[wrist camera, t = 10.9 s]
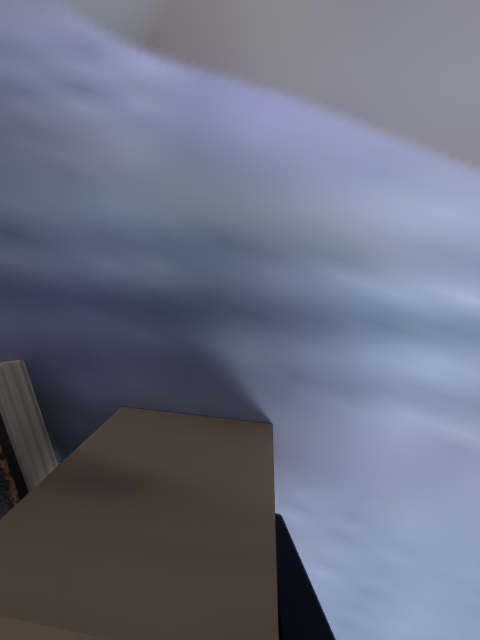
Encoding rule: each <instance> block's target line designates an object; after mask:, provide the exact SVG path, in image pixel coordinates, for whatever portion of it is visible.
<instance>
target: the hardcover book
mask: <svg viewBox="0 0 480 640" xmlns="http://www.w3.org/2000/svg"><path fill="white" fill-rule="evenodd" d="M57 466H58V463H57V460H56V457H55V454H54V451H53V448H52V445H51V442H50V439H49V436H48V433H47V430H46V427H45V424H44V420H43V417H42V414H41V411H40V408H39V405H38V402H37V399H36V396H35V393H34V390H33V387H32V384H31V381H30V377H29V374H28V371H27V368H26V365H25V362H24V360H14V361H6V362H0V519H1V518H2V517H3V516H5V515H6V514H7V513H8V512H9V511H10V510H11V509H12V508H13V507H14V506H15V505H16V504H17V503H18V502H20V501H21V500H22V499H23V498H24V497H25V496H26V495H27V494H28V493H29V492H30V491H31V490H32V489H33V488H35V487H36V486H37V485H38V484H39V483H40V482H41V481H42V480H43V479H44V478H45V477H46V476H47V475H48V474H50V473H51V472H52V471H53V470H54V469H55V468H56V467H57Z"/></svg>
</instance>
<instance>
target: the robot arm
mask: <svg viewBox="0 0 480 640" xmlns="http://www.w3.org/2000/svg"><path fill="white" fill-rule="evenodd" d="M275 531H276V566H277V602H278V637H279V640H336V639H335V637H334V635H333V632H332V630H331V628H330V625H329V623H328V621H327V619H326V616H325V614H324V612H323V609H322V607H321V605H320V603H319V600H318V598H317V596H316V593H315V591H314V589H313V586H312V584H311V582H310V580H309V577H308V575H307V573H306V570H305V568H304V566H303V564H302V561H301V559H300V557H299V554H298V552H297V550H296V547H295V545H294V543H293V541H292V538H291V536H290V534H289V531H288V529H287V527H286V524H285V522H284V520H283V518H282V516H281V515H280V514H277V513H275Z"/></svg>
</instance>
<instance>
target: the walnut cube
mask: <svg viewBox="0 0 480 640" xmlns="http://www.w3.org/2000/svg"><path fill="white" fill-rule="evenodd" d="M0 640H279V637H278V602H277V566H276V531H275V495H274V460H273V424H269V423H260V422H251V421H243V420H234V419H225V418H217V417H208V416H199V415H190V414H182V413H173V412H164V411H156V410H147V409H138V408H130V407H120V408H119V409H118V410H117V411H116V412H115V413H114V414H113V415H112V416H111V417H110V418H108V419H107V420H106V421H105V422H104V423H103V424H102V425H101V426H100V427H99V428H98V429H97V430H96V431H95V432H93V433H92V434H91V435H90V436H89V437H88V438H87V439H86V440H85V441H84V442H83V443H82V444H81V445H80V446H78V447H77V448H76V449H75V450H74V451H73V452H72V453H71V454H70V455H69V456H68V457H67V458H66V459H65V460H63V461H62V462H61V463H60V464H59V465H58V466H57V467H56V468H55V469H54V470H53V471H52V472H51V473H50V474H48V475H47V476H46V477H45V478H44V479H43V480H42V481H41V482H40V483H39V484H38V485H37V486H36V487H35V488H33V489H32V490H31V491H30V492H29V493H28V494H27V495H26V496H25V497H24V498H23V499H22V500H21V501H20V502H18V503H17V504H16V505H15V506H14V507H13V508H12V509H11V510H10V511H9V512H8V513H7V514H6V515H5V516H3V517H2V518H1V519H0Z"/></svg>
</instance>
